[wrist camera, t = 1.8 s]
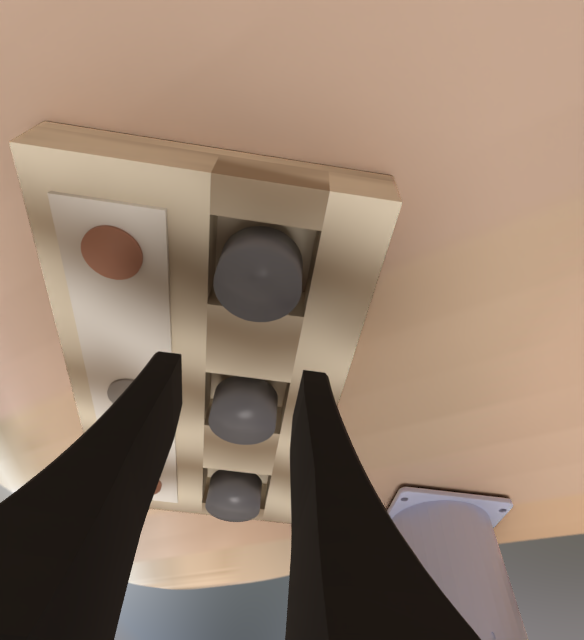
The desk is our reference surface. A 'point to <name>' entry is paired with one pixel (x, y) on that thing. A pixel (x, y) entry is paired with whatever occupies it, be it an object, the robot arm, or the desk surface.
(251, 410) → the middle button
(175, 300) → the button board
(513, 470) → the desk surface
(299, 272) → the button
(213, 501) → the button
